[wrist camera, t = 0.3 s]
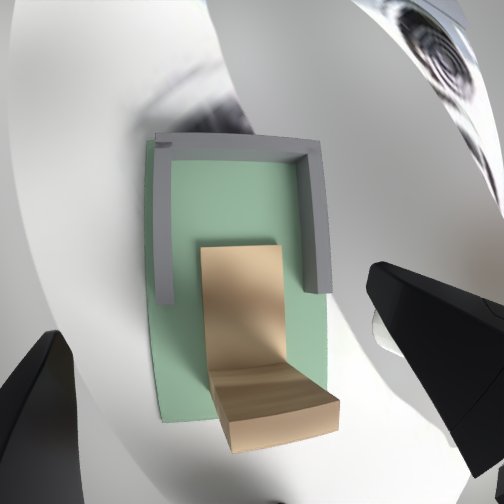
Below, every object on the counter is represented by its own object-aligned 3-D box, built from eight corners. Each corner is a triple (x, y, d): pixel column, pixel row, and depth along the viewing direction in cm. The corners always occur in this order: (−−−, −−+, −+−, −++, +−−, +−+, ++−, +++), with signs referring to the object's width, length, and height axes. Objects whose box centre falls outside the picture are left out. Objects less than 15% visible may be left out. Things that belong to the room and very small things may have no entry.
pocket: (317, 291, 24) (332, 292, 22) (158, 302, 21) (156, 305, 19) (306, 151, 25) (319, 140, 22) (156, 146, 22) (155, 133, 19)
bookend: (283, 382, 23) (338, 430, 14) (209, 391, 22) (232, 453, 13) (278, 245, 24) (336, 231, 15) (199, 248, 22) (216, 232, 13)
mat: (325, 398, 24) (326, 399, 24) (162, 421, 21) (162, 422, 20) (313, 148, 25) (314, 147, 25) (147, 142, 22) (146, 140, 22)
